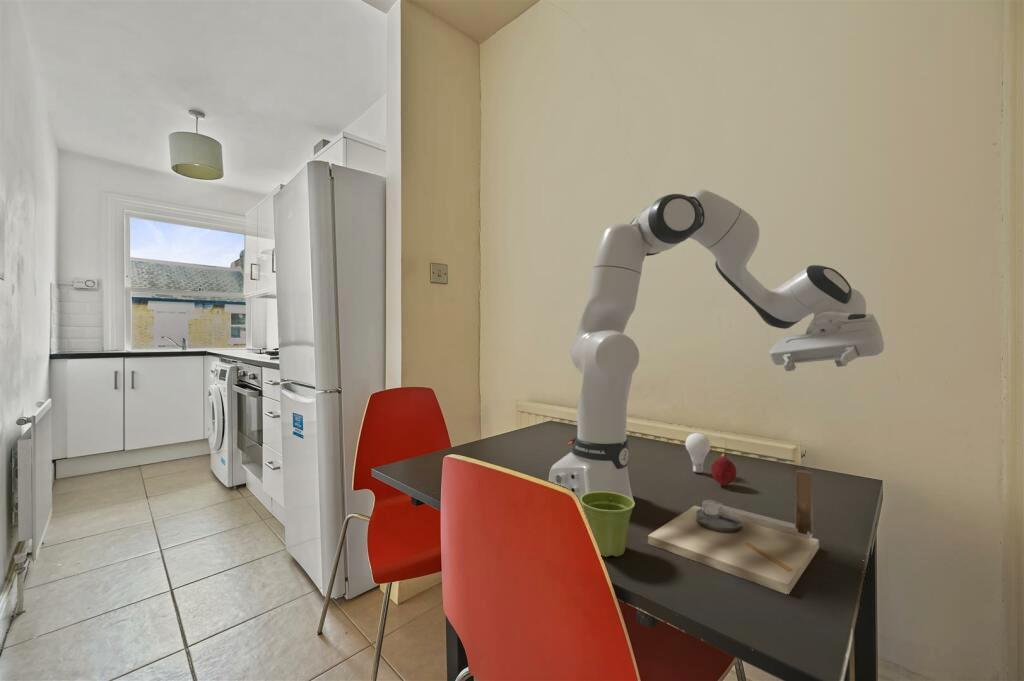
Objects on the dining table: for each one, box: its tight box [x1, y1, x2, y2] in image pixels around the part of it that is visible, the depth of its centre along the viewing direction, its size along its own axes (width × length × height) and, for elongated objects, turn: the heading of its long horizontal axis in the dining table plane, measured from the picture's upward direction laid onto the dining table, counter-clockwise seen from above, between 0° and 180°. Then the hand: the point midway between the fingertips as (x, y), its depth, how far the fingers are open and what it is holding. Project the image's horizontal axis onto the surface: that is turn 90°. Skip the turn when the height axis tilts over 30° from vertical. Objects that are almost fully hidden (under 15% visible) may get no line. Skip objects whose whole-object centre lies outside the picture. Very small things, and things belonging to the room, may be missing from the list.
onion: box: [710, 453, 738, 487], centre depth 109 cm, size 6×6×8 cm
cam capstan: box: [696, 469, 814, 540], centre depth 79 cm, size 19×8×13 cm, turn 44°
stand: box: [647, 505, 820, 595], centre depth 77 cm, size 22×20×2 cm
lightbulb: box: [684, 432, 711, 474], centre depth 120 cm, size 6×6×11 cm
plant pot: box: [580, 492, 636, 558], centre depth 76 cm, size 9×9×9 cm
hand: (813, 366), depth 89 cm, fingers open, 8 cm apart
